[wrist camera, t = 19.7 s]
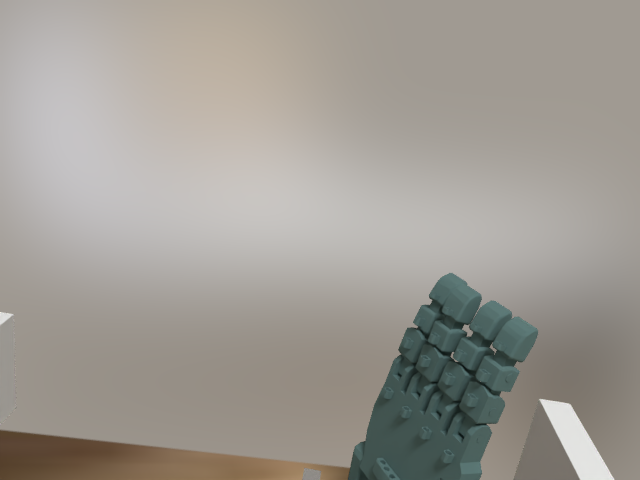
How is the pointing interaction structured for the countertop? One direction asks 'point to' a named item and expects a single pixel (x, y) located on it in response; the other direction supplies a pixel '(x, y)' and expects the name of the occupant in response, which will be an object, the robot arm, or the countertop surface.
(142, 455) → the countertop surface
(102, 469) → the countertop surface
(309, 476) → the rail dock
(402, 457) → the robotic hand
